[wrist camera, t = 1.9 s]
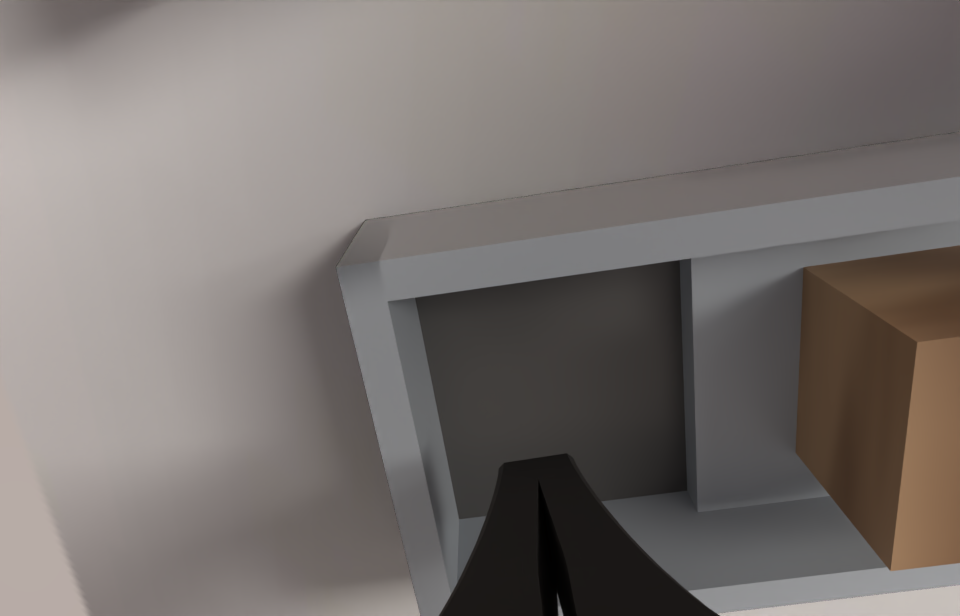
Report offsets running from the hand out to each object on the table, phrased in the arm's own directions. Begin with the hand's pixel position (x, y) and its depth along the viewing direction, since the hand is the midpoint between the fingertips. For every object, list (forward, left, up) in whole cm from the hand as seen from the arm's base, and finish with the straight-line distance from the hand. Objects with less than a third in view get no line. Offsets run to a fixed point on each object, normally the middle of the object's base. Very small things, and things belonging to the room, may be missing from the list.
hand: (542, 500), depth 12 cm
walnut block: (-9, 0, -4) cm, 9 cm away
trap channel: (-9, 0, -5) cm, 10 cm away
